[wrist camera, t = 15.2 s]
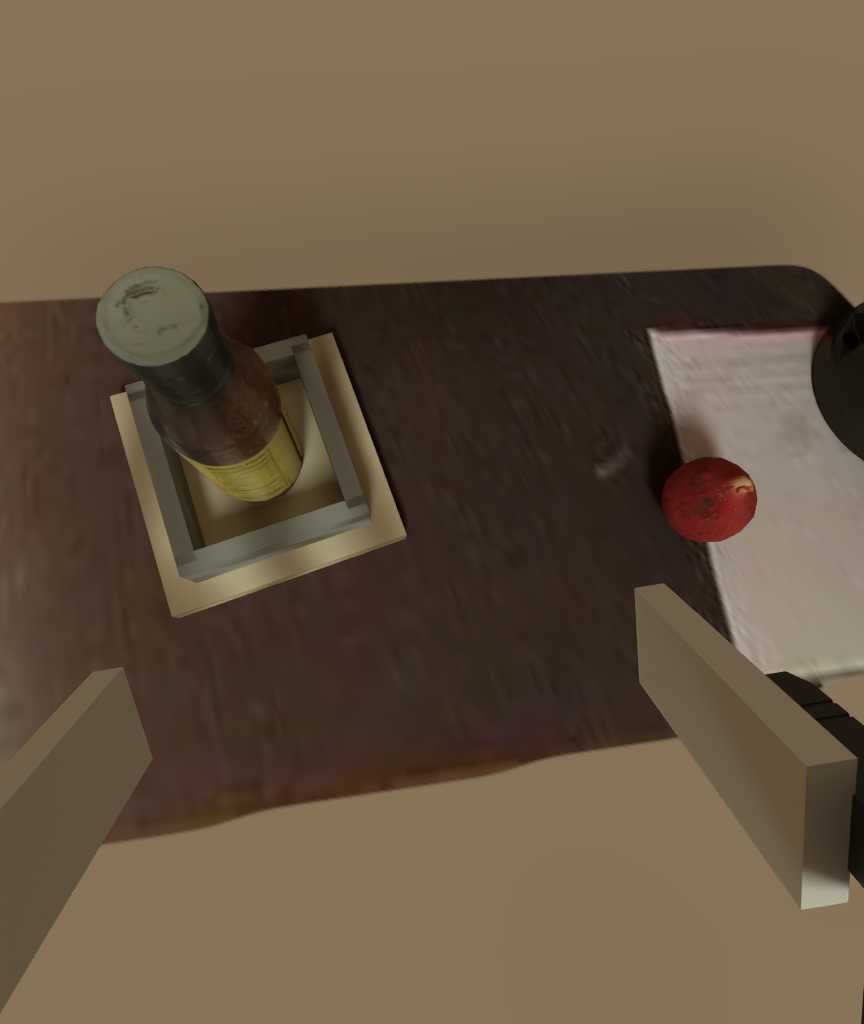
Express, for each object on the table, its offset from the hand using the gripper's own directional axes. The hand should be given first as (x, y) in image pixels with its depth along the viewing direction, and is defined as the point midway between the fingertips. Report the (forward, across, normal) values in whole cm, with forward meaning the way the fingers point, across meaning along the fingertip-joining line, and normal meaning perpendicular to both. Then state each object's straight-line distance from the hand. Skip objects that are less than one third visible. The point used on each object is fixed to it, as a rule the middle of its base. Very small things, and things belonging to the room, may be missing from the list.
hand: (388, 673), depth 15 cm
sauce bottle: (+27, -9, +1) cm, 29 cm away
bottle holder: (+28, -10, +1) cm, 30 cm away
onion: (+28, +20, -7) cm, 35 cm away
